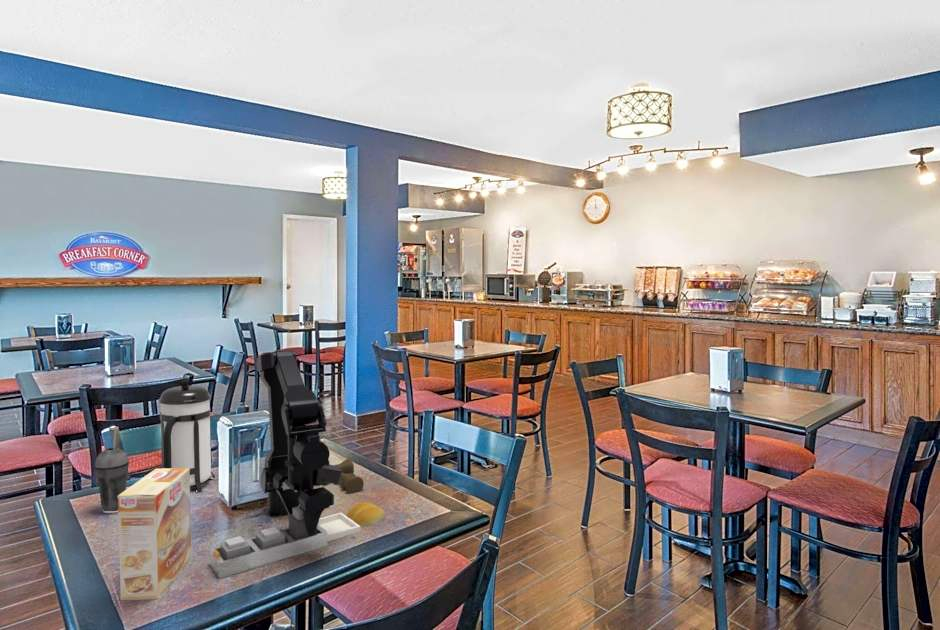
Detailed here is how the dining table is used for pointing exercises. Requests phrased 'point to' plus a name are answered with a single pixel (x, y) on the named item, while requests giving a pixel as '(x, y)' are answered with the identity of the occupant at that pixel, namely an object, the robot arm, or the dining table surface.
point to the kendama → (349, 477)
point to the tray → (338, 526)
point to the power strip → (265, 553)
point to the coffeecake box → (154, 533)
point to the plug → (297, 525)
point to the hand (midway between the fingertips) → (302, 527)
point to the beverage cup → (111, 475)
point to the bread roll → (366, 514)
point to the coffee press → (186, 431)
